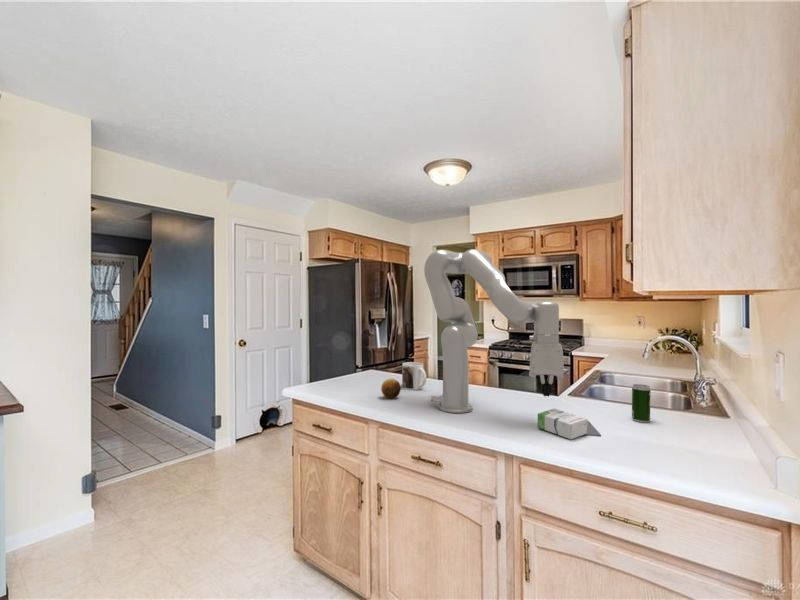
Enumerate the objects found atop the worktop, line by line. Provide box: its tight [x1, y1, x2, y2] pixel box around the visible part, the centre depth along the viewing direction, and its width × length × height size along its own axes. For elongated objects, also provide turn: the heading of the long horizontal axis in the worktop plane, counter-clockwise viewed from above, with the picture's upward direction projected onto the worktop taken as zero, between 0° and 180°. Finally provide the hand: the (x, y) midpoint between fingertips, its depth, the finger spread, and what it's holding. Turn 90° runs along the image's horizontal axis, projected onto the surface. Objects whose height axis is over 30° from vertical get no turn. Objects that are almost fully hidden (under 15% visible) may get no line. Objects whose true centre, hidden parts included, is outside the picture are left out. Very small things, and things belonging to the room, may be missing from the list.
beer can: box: [631, 383, 652, 424], centre depth 132 cm, size 5×5×12 cm
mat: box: [583, 420, 602, 437], centre depth 125 cm, size 13×14×1 cm
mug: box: [401, 361, 427, 391], centre depth 177 cm, size 10×12×11 cm
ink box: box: [537, 408, 589, 440], centre depth 120 cm, size 9×5×12 cm
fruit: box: [380, 378, 402, 400], centre depth 159 cm, size 8×8×8 cm
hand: (546, 395), depth 126 cm, fingers closed
